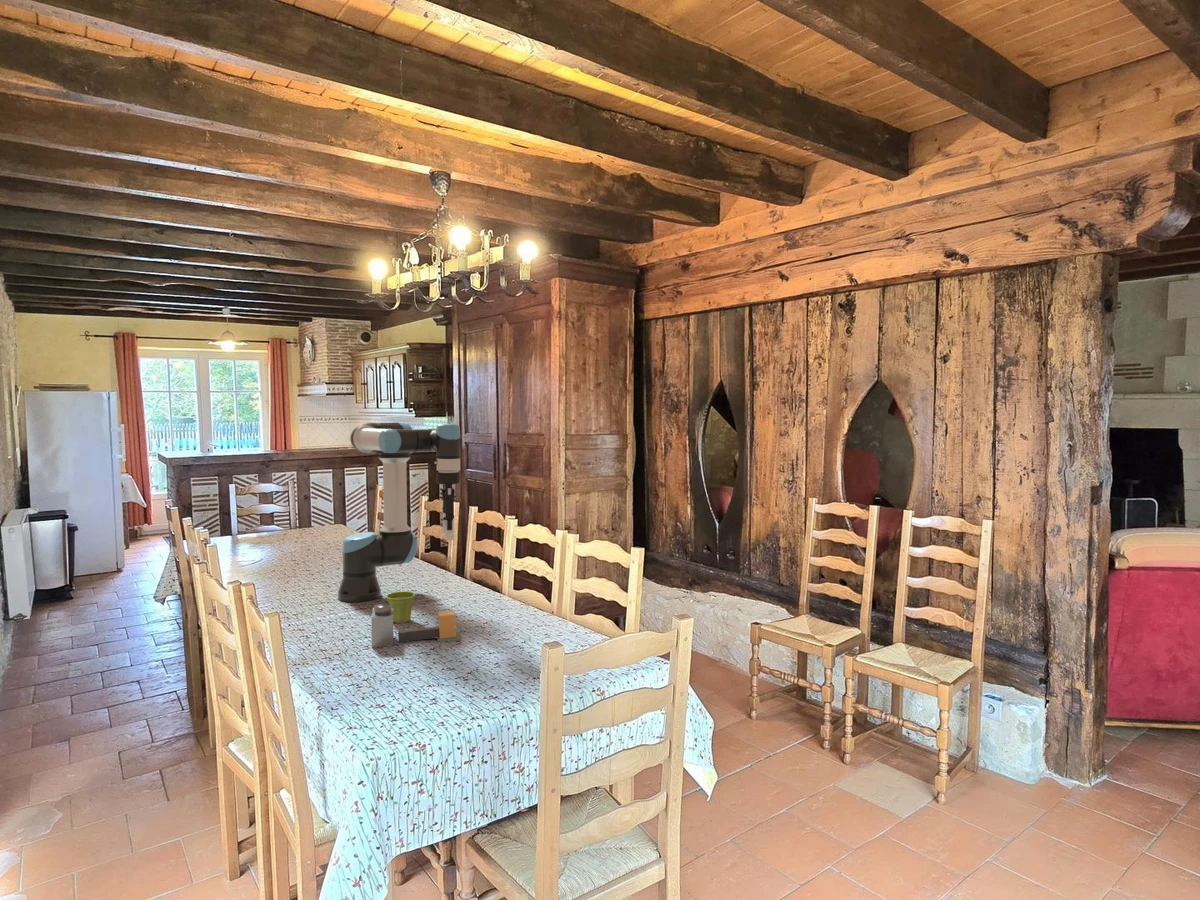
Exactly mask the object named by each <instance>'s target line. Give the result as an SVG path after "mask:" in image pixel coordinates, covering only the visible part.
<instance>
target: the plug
mask: <svg viewBox="0 0 1200 900" xmlns="http://www.w3.org/2000/svg"><path fill="white" fill-rule="evenodd" d="M437 615H438V616H437V618H438V626H431V627H430V626H429V627H420V628H411V629H410V628H409V629H406V628H398V629H397V630H398V632H397V635H398V643H399V644H402V643H403V644H404V643H406V642H411V641H412V642H413V641H419V640H421V641H422V640H429V639H437V638H440V639H442V638H451V637H456V632H457V622H456V620H457V619H456V617H457V615H456V610H445V611H444V610H443V611H438V613H437Z"/></svg>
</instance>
